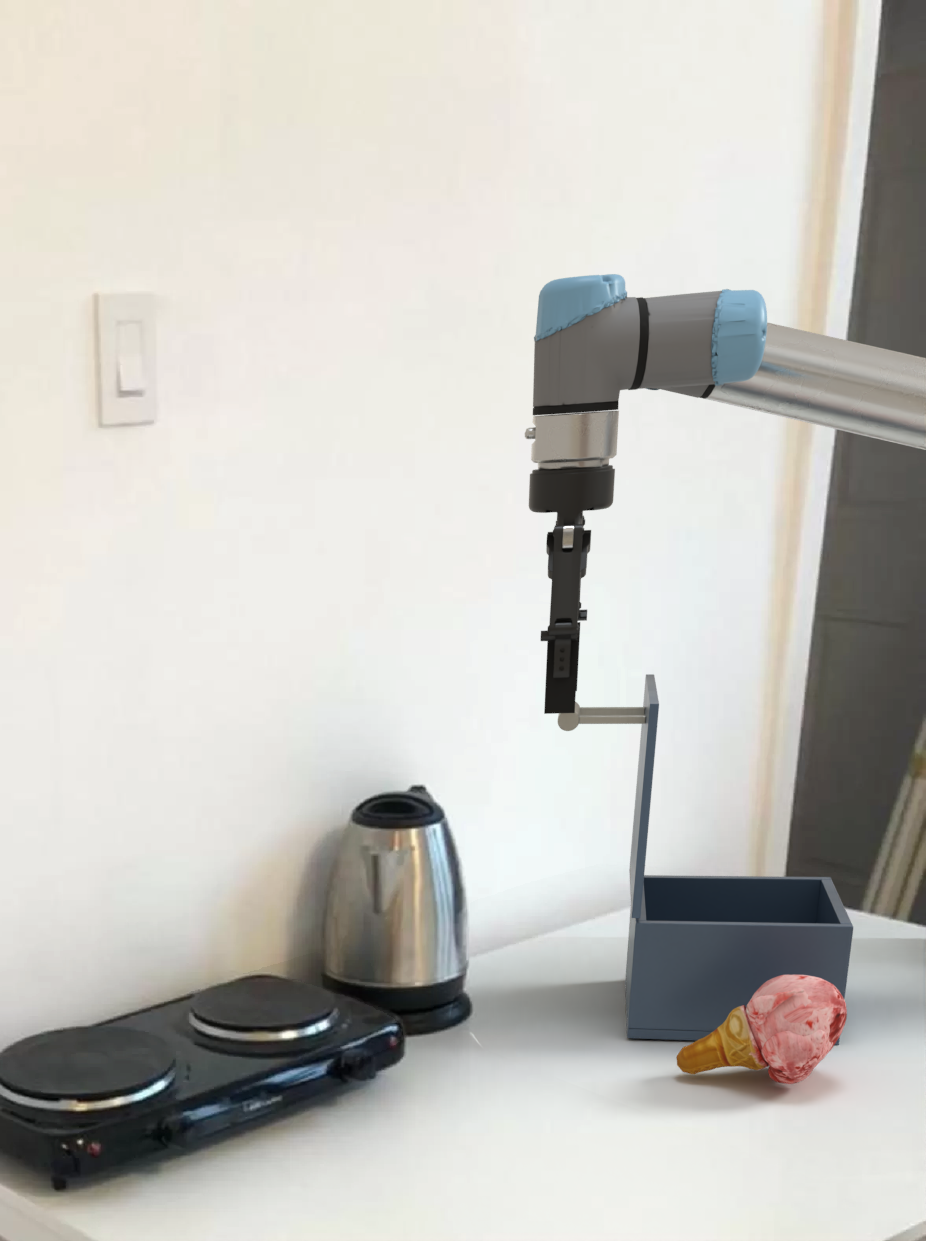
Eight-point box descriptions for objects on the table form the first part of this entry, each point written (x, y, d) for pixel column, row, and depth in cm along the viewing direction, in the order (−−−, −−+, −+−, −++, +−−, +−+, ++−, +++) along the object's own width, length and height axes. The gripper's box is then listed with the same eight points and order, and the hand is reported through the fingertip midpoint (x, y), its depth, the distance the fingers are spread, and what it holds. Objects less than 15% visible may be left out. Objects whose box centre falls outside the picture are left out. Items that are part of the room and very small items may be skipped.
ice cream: (674, 1087, 156) (849, 1023, 150) (648, 1000, 162) (816, 934, 155) (710, 1142, 164) (879, 1083, 157) (685, 1057, 169) (847, 997, 163)
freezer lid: (654, 674, 177) (562, 675, 179) (659, 703, 160) (557, 704, 162) (637, 870, 184) (549, 868, 187) (640, 918, 168) (543, 915, 170)
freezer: (817, 986, 184) (830, 876, 179) (838, 1045, 167) (853, 926, 163) (625, 981, 189) (632, 874, 185) (626, 1038, 172) (635, 922, 168)
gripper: (535, 462, 175) (526, 683, 183) (524, 472, 153) (515, 723, 161) (614, 457, 173) (602, 681, 181) (615, 467, 151) (601, 721, 159)
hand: (561, 701), depth 171 cm, fingers open, 13 cm apart
